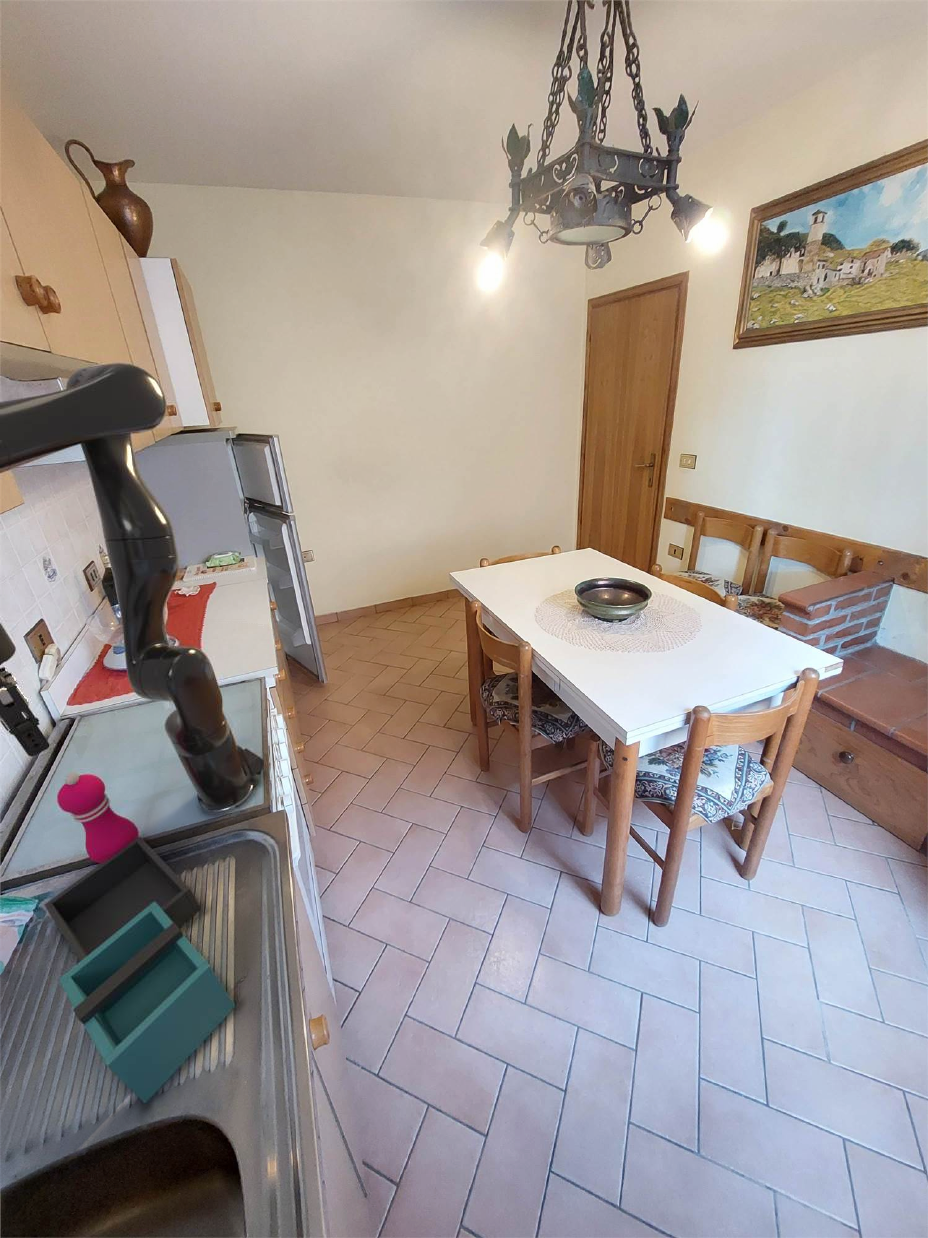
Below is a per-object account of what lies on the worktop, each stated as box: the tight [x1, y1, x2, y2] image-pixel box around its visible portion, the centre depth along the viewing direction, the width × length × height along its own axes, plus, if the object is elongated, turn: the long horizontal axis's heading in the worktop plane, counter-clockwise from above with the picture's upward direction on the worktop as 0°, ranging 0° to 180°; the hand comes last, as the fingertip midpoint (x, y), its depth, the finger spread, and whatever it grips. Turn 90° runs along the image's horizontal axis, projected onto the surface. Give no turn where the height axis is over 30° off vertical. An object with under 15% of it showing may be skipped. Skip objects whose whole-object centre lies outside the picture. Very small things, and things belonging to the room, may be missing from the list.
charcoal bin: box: [43, 836, 202, 962], centre depth 74 cm, size 14×17×6 cm
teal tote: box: [58, 901, 236, 1104], centre depth 61 cm, size 11×14×11 cm
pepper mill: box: [56, 772, 139, 865], centre depth 80 cm, size 7×7×20 cm
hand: (28, 739), depth 63 cm, fingers open, 8 cm apart
